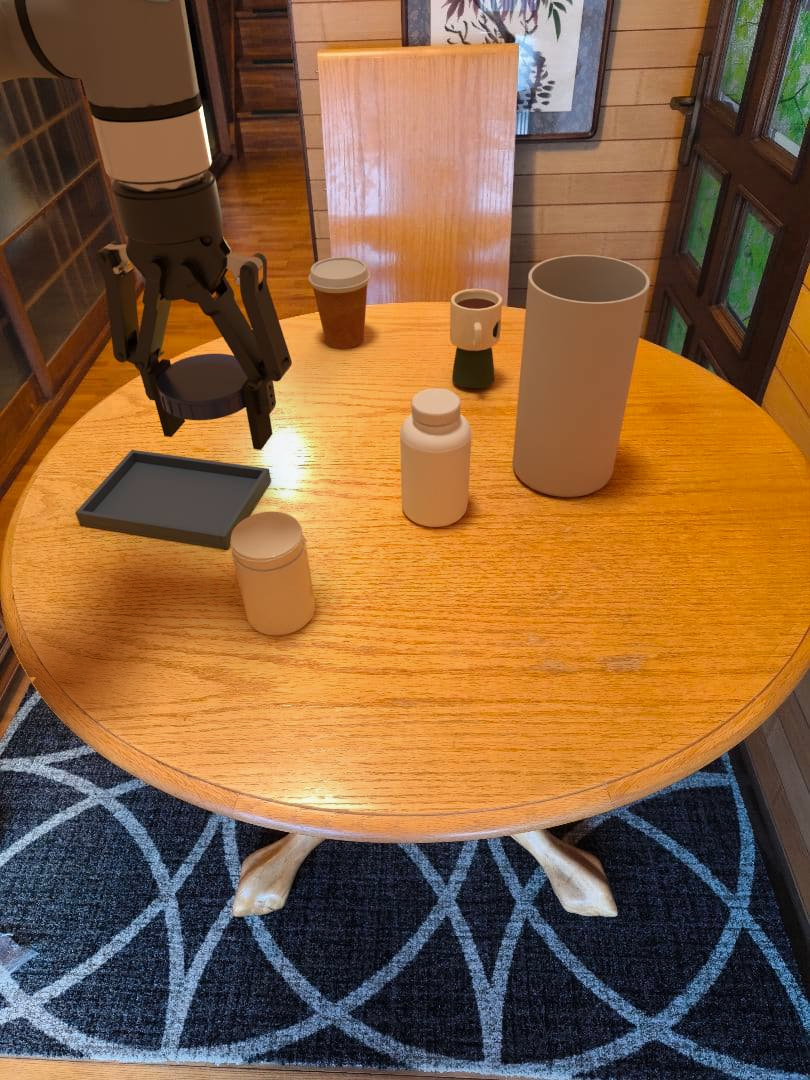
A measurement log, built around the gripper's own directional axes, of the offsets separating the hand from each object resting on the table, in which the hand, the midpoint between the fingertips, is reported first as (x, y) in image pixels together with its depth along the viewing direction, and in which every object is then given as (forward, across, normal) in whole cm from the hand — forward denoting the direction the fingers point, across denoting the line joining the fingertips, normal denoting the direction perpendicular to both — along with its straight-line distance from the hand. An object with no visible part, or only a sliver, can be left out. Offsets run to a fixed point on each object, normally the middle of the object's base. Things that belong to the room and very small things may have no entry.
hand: (218, 434), depth 71 cm
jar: (+19, -5, +3) cm, 20 cm away
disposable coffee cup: (+19, +8, -56) cm, 59 cm away
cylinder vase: (+19, -31, -28) cm, 46 cm away
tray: (+19, +14, -10) cm, 26 cm away
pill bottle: (+19, -17, -17) cm, 30 cm away
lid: (-6, 0, 0) cm, 6 cm away
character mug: (+19, -16, -47) cm, 53 cm away
